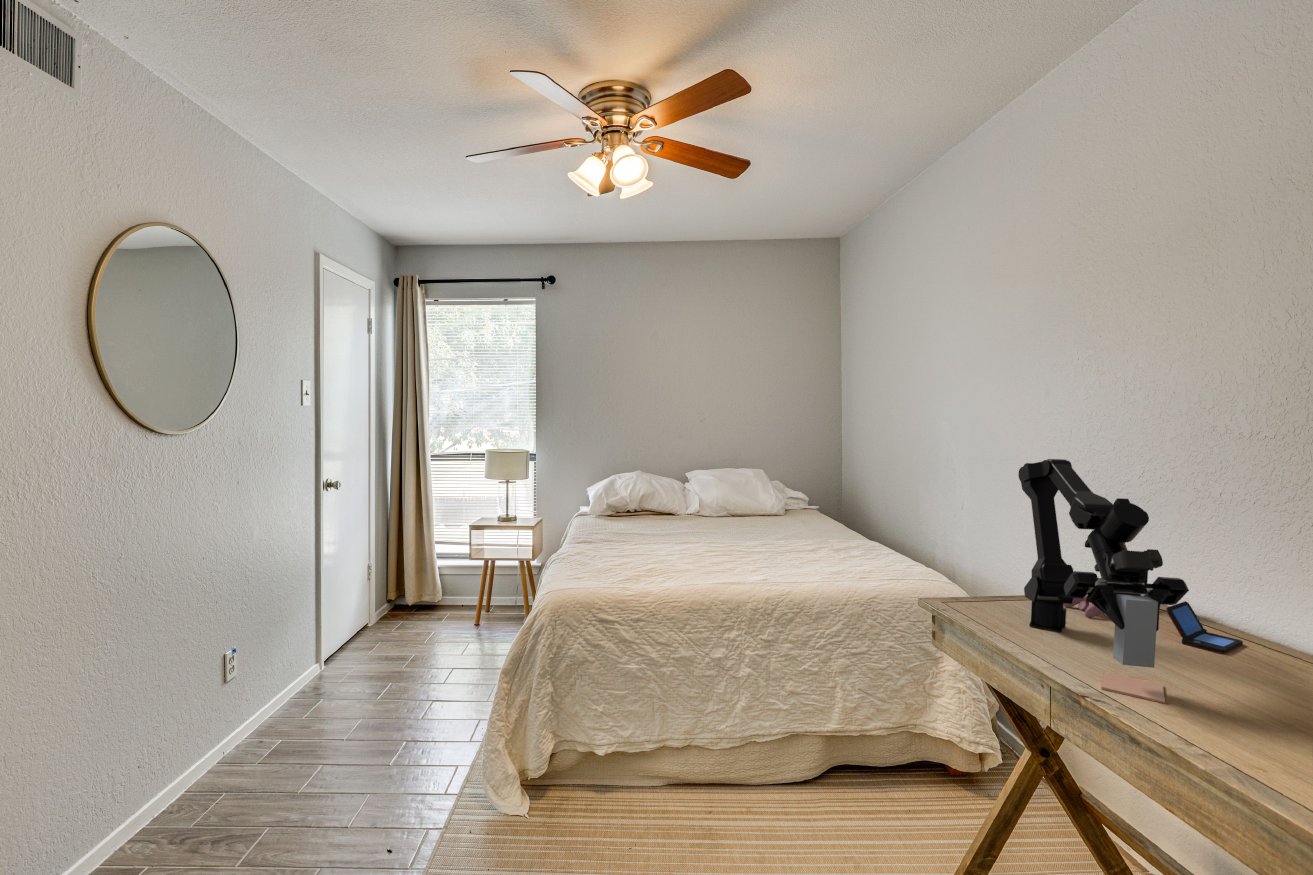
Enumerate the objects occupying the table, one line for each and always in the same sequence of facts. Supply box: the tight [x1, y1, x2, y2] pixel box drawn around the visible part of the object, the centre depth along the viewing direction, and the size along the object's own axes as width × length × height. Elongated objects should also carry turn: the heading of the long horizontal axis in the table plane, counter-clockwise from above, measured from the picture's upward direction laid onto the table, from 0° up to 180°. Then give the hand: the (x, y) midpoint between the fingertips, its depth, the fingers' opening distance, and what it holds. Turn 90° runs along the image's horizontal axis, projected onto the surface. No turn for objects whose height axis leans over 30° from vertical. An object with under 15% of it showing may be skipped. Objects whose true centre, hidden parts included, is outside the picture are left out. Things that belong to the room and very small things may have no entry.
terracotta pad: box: [1101, 671, 1166, 704], centre depth 115 cm, size 9×9×1 cm
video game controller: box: [1064, 594, 1103, 619], centre depth 160 cm, size 10×5×7 cm, turn 0°
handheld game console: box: [1165, 600, 1244, 655], centre depth 140 cm, size 12×11×7 cm
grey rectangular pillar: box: [1112, 594, 1158, 669], centre depth 114 cm, size 4×5×12 cm
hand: (1139, 629), depth 113 cm, fingers closed on grey rectangular pillar, 5 cm apart
